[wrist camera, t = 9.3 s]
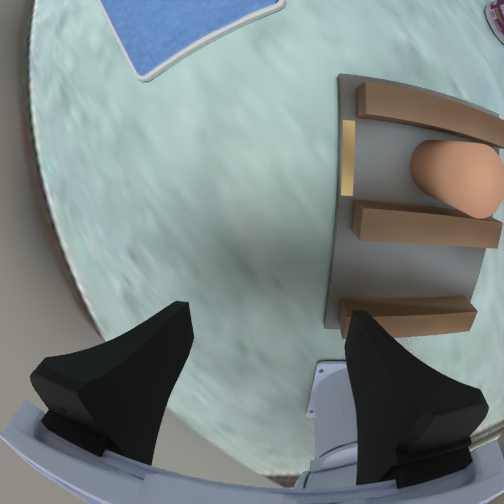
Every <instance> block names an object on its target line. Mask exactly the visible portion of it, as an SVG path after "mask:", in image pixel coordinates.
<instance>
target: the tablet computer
mask: <svg viewBox="0 0 504 504" xmlns="http://www.w3.org/2000/svg"><path fill="white" fill-rule="evenodd" d="M97 2H98V4H99V6H100V8H101V10H102V12H103V14H104V16H105V18H106V20H107V22H108V24H109V26H110V28H111V30H112V32H113V34H114V36H115V38H116V40H117V42H118V44H119V46H120V48H121V50H122V52H123V54H124V56H125V58H126V60H127V61H128V63H129V65H130V67H131V69H132V71H133V73H134V75H135V77H136V78H137V79H138V80H140V81H142V82H147V81H150V80H152V79H153V78H155V77H156V76H158V75H159V74H161V73H162V72H164V71H165V70H167V69H168V68H170V67H171V66H173V65H174V64H176V63H178V62H179V61H181V60H182V59H184V58H186V57H187V56H189V55H190V54H192V53H194V52H195V51H197V50H199V49H201V48H203V47H204V46H206V45H208V44H210V43H212V42H213V41H215V40H217V39H219V38H221V37H223V36H225V35H227V34H229V33H231V32H233V31H235V30H237V29H239V28H241V27H243V26H245V25H247V24H249V23H251V22H254V21H256V20H258V19H260V18H263V17H265V16H267V15H269V14H272V13H274V12H277V11H279V10H281V9H282V8H283V7H284V6H285V3H286V2H285V0H97Z"/></svg>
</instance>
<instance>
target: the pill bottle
mask: <svg viewBox="0 0 504 504" xmlns="http://www.w3.org/2000/svg"><path fill="white" fill-rule="evenodd" d="M486 17H487V20H488V22H489V24H490V26H491V28H492V30H493V31H494V33H495V35H496V36H497V37H498V39H499V40H500V41H501V42H502V43H503V44H504V0H495V1H493V2H491V3H490V4H488V5H487V6H486Z"/></svg>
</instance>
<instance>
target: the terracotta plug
mask: <svg viewBox="0 0 504 504" xmlns="http://www.w3.org/2000/svg"><path fill="white" fill-rule="evenodd" d="M410 170H411V175H412V179H413V181H414V183H415V184H416V186H417V187H418V188H419V189H420V190H421V191H422V192H424V193H425V194H428V195H430V196H432V197H434V198H436V199H438V200H440V201H443V202H445V203H447V204H449V205H451V206H453V207H455V208H457V209H459V210H461V211H463V212H464V213H466V214H468V215H470V216H472V217H474V218H478V219H483V218H487V217H489V216H491V215H492V214H493V213H494V212H495V211H496V210H497V209H498V207H499V206H500V204H501V202H502V199H503V196H504V167H503V164H502V161H501V159H500V157H499V155H498V154H497V153H496V151H495V150H494V149H492V148H491V147H490V146H488V145H486V144H481V143H471V142H460V141H446V140H426V141H423V142H422V143H420V144H419V145H418V146H417V147H416V148H415V150H414V152H413V154H412V157H411V162H410Z"/></svg>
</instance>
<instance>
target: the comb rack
mask: <svg viewBox="0 0 504 504" xmlns="http://www.w3.org/2000/svg"><path fill="white" fill-rule="evenodd" d="M337 80H338V118H339V139H338V178H337V199H336V214H335V228H334V240H333V250H332V260H331V269H330V278H329V286H328V294H327V301H326V309H325V315H324V328H325V329H341V334H342V339H346V338H347V334H348V329H349V325H350V320H351V315H352V310H366V311H367V312H368V313H369V314H370V315H371V316H372V317H373V318H374V319H375V320H376V321H377V322H378V323H379V324H380V325H381V326H382V327H383V328H384V329H385V330H386V331H387V332H388V333H389V334H390V335H391V336H392V337H393V338H397V337H413V336H427V335H438V334H448V333H457V332H465V331H470V329H471V326H472V324H473V322H474V319H475V317H476V314H477V312H478V311H477V310H476V309H475V308H474V307H473V305H472V304H471V303H470V301H471V298H472V295H473V292H474V289H475V286H476V283H477V279H478V276H479V273H480V269H481V266H482V262H483V258H484V254H485V250H486V248H496V249H497V248H498V244H499V240H500V235H501V230H502V225H503V223H502V222H500V221H498V220H496V219H494V218H492V216H493V214H492V215H491V216H489V217H487V218H483V219H478V218H474V217H472V216H470V215H468V214H466V213H464V212H463V211H461V210H459V209H457V208H455V207H453V206H451V205H449V204H447V203H445V202H443V201H440V200H438V199H436V198H434V197H432V196H430V195H428V194H425V193H424V192H422V191H421V190H420V189H419V188H418V187H417V186H416V184H415V183H414V181H413V179H412V175H411V170H410V162H411V157H412V154H413V152H414V150H415V148H416V147H417V146H418V145H419V144H420V143H422V142H423V141H426V140H446V141H460V142H471V143H481V144H486V145H488V146H490V147H491V148H492V149H494V150H495V151H496V153H497V154H498V155H499V148H503V149H504V120H502V119H500V118H499V114H497V113H495V112H493V111H490V110H488V109H485V108H483V107H480V106H478V105H475V104H473V103H470V102H467V101H464V100H461V99H458V98H455V97H452V96H449V95H446V94H443V93H439V92H436V91H432V90H428V89H425V88H421V87H417V86H413V85H408V84H404V83H399V82H394V81H389V80H384V79H378V78H372V77H365V76H358V75H350V74H341V73H340V74H339V75H338V77H337Z"/></svg>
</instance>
